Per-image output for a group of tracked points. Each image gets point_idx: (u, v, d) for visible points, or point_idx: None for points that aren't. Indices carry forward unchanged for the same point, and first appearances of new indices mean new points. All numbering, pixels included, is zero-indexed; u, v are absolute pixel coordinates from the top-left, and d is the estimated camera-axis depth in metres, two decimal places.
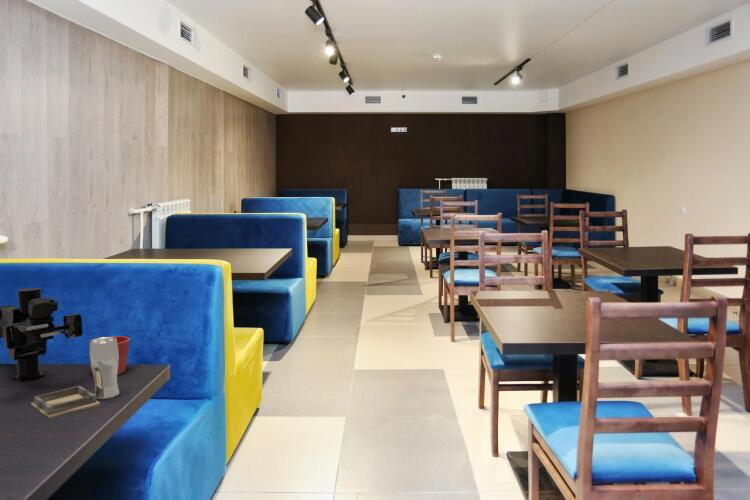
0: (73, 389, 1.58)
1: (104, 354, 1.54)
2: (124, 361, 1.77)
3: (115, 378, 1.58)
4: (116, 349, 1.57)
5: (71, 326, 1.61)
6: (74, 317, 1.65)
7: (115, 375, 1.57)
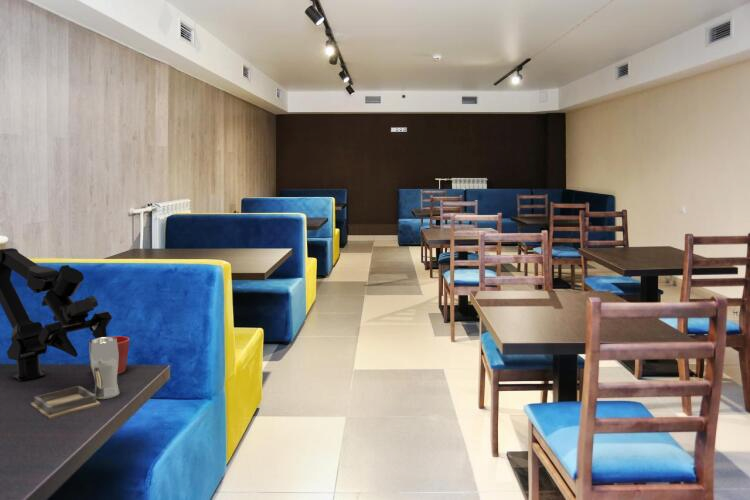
0: (73, 389, 1.58)
1: (104, 354, 1.54)
2: (124, 361, 1.77)
3: (115, 378, 1.58)
4: (116, 349, 1.57)
5: (104, 336, 1.64)
6: (107, 321, 1.66)
7: (115, 375, 1.57)
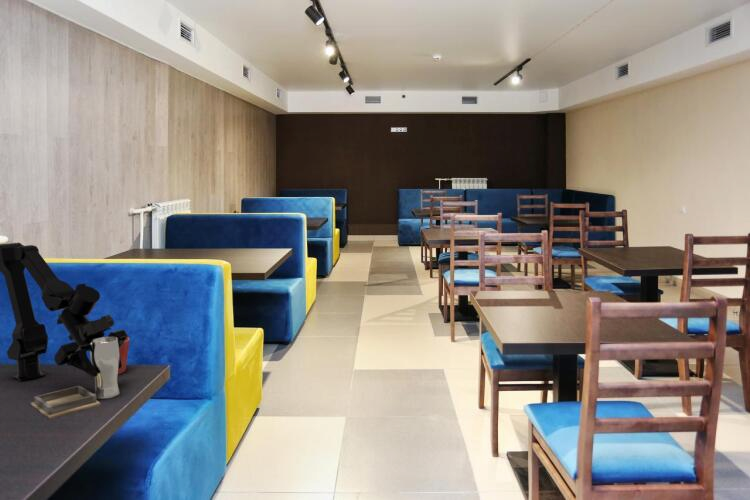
0: (73, 389, 1.58)
1: (105, 354, 1.54)
2: (124, 361, 1.77)
3: (115, 378, 1.58)
4: (117, 349, 1.57)
5: None
6: (120, 340, 1.63)
7: (115, 375, 1.57)
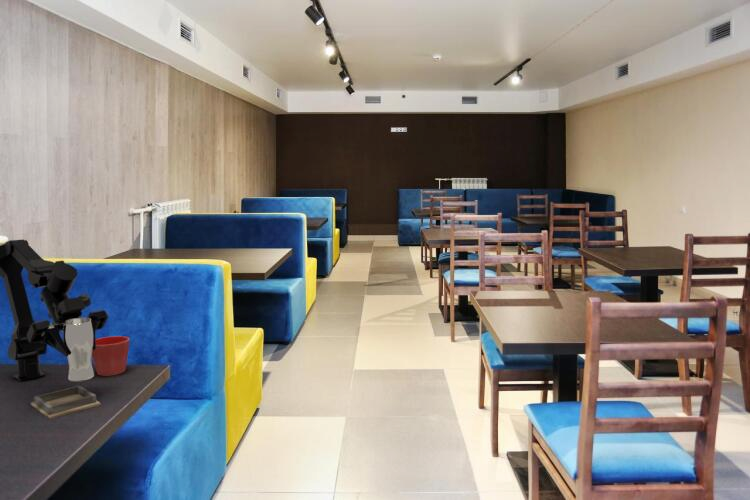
0: (73, 389, 1.58)
1: (75, 336, 1.49)
2: (124, 361, 1.77)
3: (88, 361, 1.53)
4: (89, 331, 1.51)
5: None
6: (97, 321, 1.58)
7: (88, 358, 1.52)
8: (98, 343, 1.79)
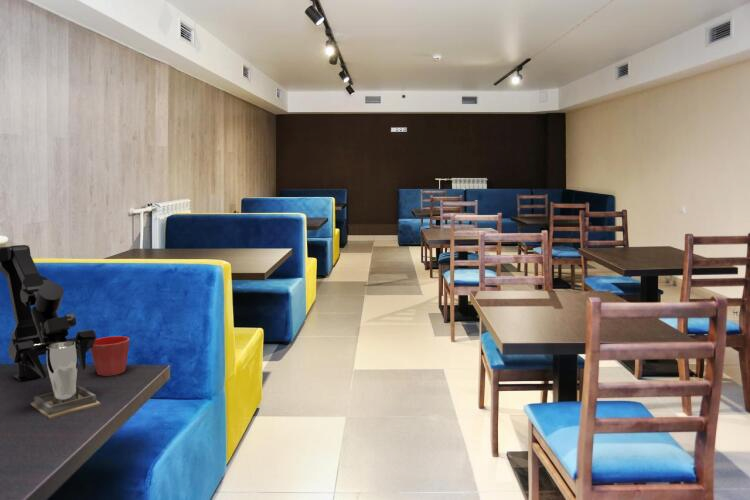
0: None
1: (57, 360, 1.48)
2: (124, 361, 1.77)
3: (71, 386, 1.51)
4: (72, 356, 1.50)
5: (83, 356, 1.54)
6: (89, 340, 1.56)
7: (71, 382, 1.50)
8: (98, 343, 1.79)
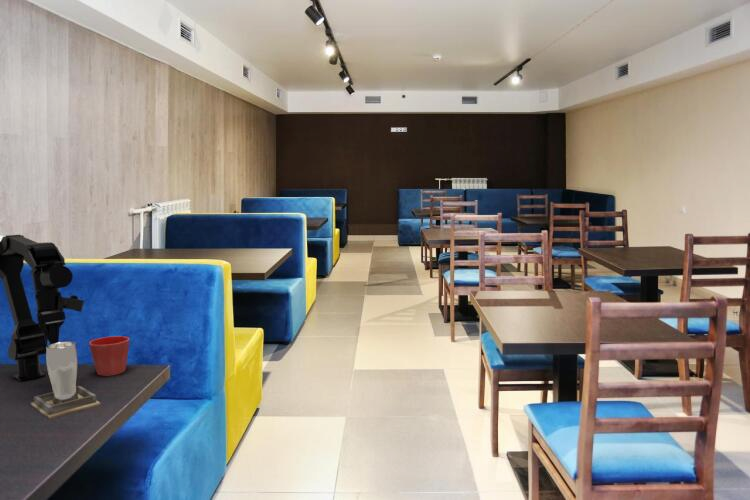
0: None
1: (56, 360, 1.48)
2: (124, 361, 1.77)
3: (71, 386, 1.51)
4: (72, 355, 1.50)
5: None
6: None
7: (71, 382, 1.50)
8: (98, 343, 1.79)
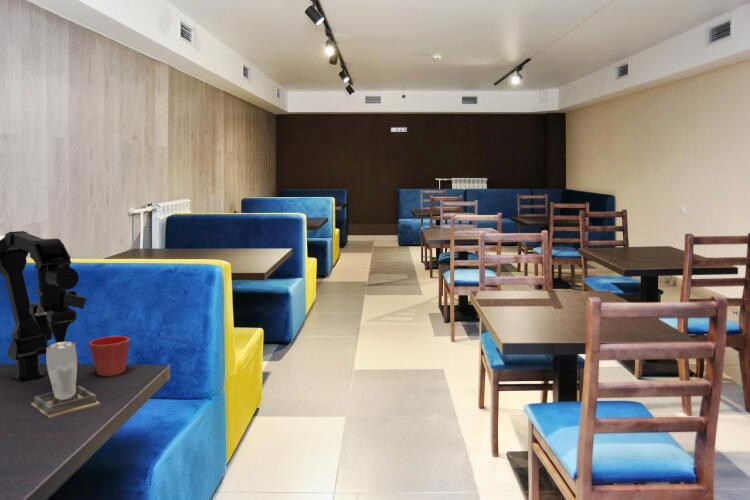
0: None
1: (57, 360, 1.48)
2: (124, 361, 1.77)
3: (71, 386, 1.51)
4: (72, 355, 1.50)
5: None
6: None
7: (71, 382, 1.50)
8: (98, 343, 1.79)
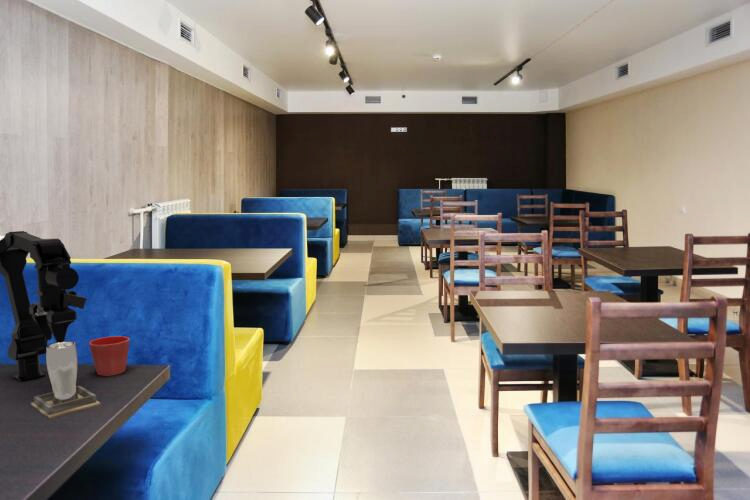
0: None
1: (57, 360, 1.48)
2: (124, 361, 1.77)
3: (71, 386, 1.51)
4: (72, 355, 1.50)
5: None
6: None
7: (71, 382, 1.50)
8: (98, 343, 1.79)
